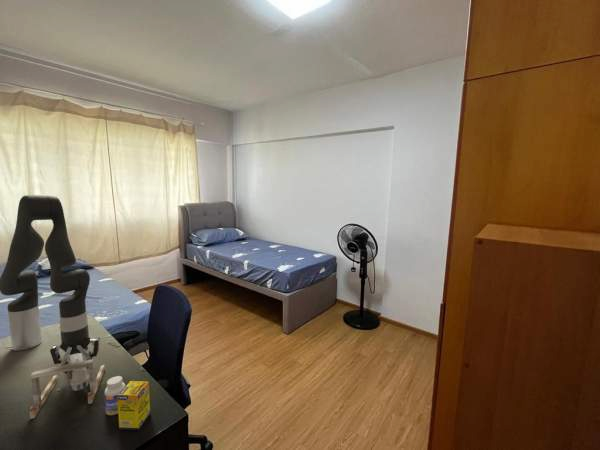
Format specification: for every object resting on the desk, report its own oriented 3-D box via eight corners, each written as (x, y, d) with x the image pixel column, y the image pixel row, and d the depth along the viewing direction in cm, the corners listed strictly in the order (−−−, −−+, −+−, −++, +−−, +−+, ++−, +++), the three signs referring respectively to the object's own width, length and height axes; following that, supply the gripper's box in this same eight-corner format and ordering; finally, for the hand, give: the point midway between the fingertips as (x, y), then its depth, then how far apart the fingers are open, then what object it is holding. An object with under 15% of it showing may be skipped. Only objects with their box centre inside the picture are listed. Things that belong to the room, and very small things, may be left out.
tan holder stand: (53, 381, 96) (50, 349, 95) (105, 369, 103) (103, 339, 101) (29, 419, 80) (24, 381, 78) (93, 402, 86) (90, 367, 85)
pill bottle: (104, 418, 81) (102, 388, 79) (107, 405, 85) (105, 377, 84) (125, 411, 83) (123, 382, 82) (127, 400, 88) (125, 372, 87)
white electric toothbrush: (83, 345, 108) (89, 366, 90) (84, 361, 108) (91, 386, 90) (66, 350, 104) (69, 373, 86) (67, 367, 104) (70, 393, 86)
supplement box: (139, 430, 77) (137, 395, 75) (118, 430, 77) (116, 395, 75) (151, 413, 82) (149, 380, 81) (131, 413, 83) (129, 380, 81)
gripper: (101, 317, 102) (104, 359, 103) (52, 325, 95) (56, 369, 97) (96, 326, 95) (99, 370, 97) (43, 335, 89) (47, 382, 91)
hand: (78, 369), depth 97 cm, fingers closed on white electric toothbrush, 5 cm apart
